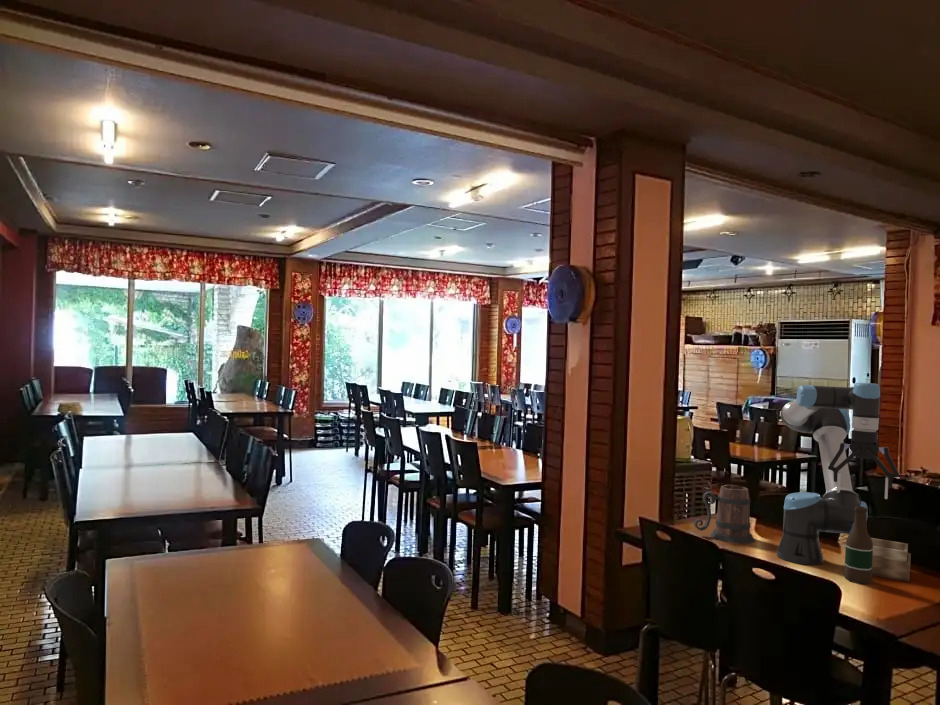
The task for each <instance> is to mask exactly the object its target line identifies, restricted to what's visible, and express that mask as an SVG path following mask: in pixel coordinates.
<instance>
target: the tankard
mask: <svg viewBox="0 0 940 705" xmlns="http://www.w3.org/2000/svg"><path fill="white" fill-rule="evenodd" d="M749 492H750V491H749V488H747V487H745V486H739V485H736V484H735V485H734V484H725V485H721V486H720V489H719V494H718V495H717V496H716V495H715V493H713V492H711V491H705V492H704V493H703V495H702V500H703V501H702V502H703V503H704V505H705V507H706V511H707V512H706V514H707V516H706V521H705V522H703V520H702V519H700V518H695V520H694V522H693V524H694V527H695V528H696V529H697V530H698V531H705V530H707V529H708V527H709V526H710V522H711V520H712V512H711V507H710V505H709V503H710V504H711V505H714V504H715V503H716V501H717V500H718V502H717V513H716V518H715V528H713V530H712V532H710V534H709V536H710V537H712V538H713V539H715V540H718V541H721V542H726V543H732V544H752V543H755V542H756V539H755V538H754V537H753V534H752V533H751V522H750V521H751V520H750V519H751V518H750V515H751V512H750V511H751V510H750V506H751V497H750V493H749ZM708 495H711V496H710V502H709V503H708V501H707V497H708ZM699 522H700V523H699ZM703 524H704V525H703Z"/></svg>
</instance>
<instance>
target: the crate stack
mask: <svg viewBox="0 0 940 705" xmlns="http://www.w3.org/2000/svg"><path fill="white" fill-rule="evenodd" d="M871 540H872V543H873V557H872V576H876V577H882V578H886V579H893V580H898V581H904V582H908V583H909V582H910V579H911V578H910V575H911V560H912V558H911V557H912V553H909V552H908V550H909V549H908V548H909V543H905V542H900V541H895V540H893V541H892V540H887V539H880V538H876V537H875V538H874V537H871Z"/></svg>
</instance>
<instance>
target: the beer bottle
mask: <svg viewBox="0 0 940 705" xmlns="http://www.w3.org/2000/svg"><path fill="white" fill-rule="evenodd" d="M867 509H868V507H867V508H865V507H861V506H857V507H855V509H854V510H855V518H854V526H853V530H852V532H851V533H850V534H849V535H848V534H847V535H848V536H847V538H846V539H845V540H846V541H845V552H844V553H845V556H844V571H843V573H844V578H845V580H847V581H848V582H852V583H854V584H859V585H860V584H862V585H868V584H870V583H871V582H872V576H873V575H872V557H873V543H872V540H871V538H872V537H871V536H870V534H869V533H868V525H867V524H868V522H867V521H868V516H867V513H866V512H867V511H868V512H869V510H867Z"/></svg>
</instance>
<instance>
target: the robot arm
mask: <svg viewBox="0 0 940 705" xmlns="http://www.w3.org/2000/svg"><path fill="white" fill-rule="evenodd" d="M796 392H797V393H796V399H794V400H793V401H792V400H791V401H789V402H787V403H786V404H785V405H784V406H782V408H781V410H780V417H781V421H782V423H783V424H784V425H785V426H786V427H787V428H789V429H791V430H792V431H796V432H798V433H805V434H812V436H813V439H814V441H816V442H817V443H818V446H819V454H820V460H821V465H822V466H821V468H822V473H823V479H824V484H825V485H824V486H825V491H826V492H825V493H824V494H823V495H820V494H819V493H817V492H808V491H806V492H803V491H800V492H792V493H789V494H787V495H786V496H785V499H784V503H783V504H784V505H783V524H782V525H783V526H782V536H781V538H780V542H779V545H778V546H777V548H776V556H777V557H778V558H780V559H782V560H784V561H787V562H791V563H795V564H801V565H821V564H823V562H824V554H823V551H822V547H821V543H820V539H819V538H820V537H819V536H820V532H824V533H835V534H845V535H849V534H850V533H851V532H852V530H853V526H854V518H855V510H854V509H855V507H857V506H861V507H865V508H867V510H868V505H867V503H866V502H865V501H863V500H861V501H860V497H859V494H858V493H856V492H855V491H854V490H853V486H852V485H853V484H852V480H851V474H850V470H849V469H850V468H849V462H850V461H852V459H854V458H857V459H864V460H873V461H874V462H875V463H876V465H877V466H878V467H879V469H881V471H882V472H883V473H884V474H885V476H886V477H885V484H884V499H885V500H888V497H889V495H888V493H889V489H892V488H893V479H895V478H899V477H900V473H899V471H898V469H897V467H896V465H895V463H894V461H893V459H892V457H891V455H890V450H889V447H888V446H884V447H883V446H881V447H880V446H879V445H878V440H879V433H878V430H879V425H880V424H879V421H880V416H879V415H880V402H881V401H880V399H881V398H880V397H881V388H880V384H878V383H872V382H871V383H869V382H856V383H854V386H850V387H848V386H847V387H846V386H828V385H827V386H826V385H812V384H808V385H807V384H806V385H803V384H802V385H799V387H798V388H797V390H796ZM848 410H849V411H850V410H851V411H852V416H851V417H852V418H851V417H850V414H849V411H848ZM851 428H852V430H851ZM850 430H851V436H850V437H851V438H850V444H848V443H844V442H845V441H844V440H845V439H846V438H847V435H848V434H850ZM848 448H849V450H850V451H851V453H850V454H849V455H848V456H847V452H846V451H847V450H848ZM879 451H880V453H881V454H883V455H884V456H885V459H886V461H887V463H888V465H889V467H890V468H891V469H890V470H891V471H892V472H890V470H889V469H888V468H887V467H886V466H885V464H884V463H883V462H882V461H881V460H880V459H879V457H878V456H877V455H876V454H878V453H879ZM868 512H869V510H868V511H867V512H866V513H867V517H868V514H869V513H868Z"/></svg>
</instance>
